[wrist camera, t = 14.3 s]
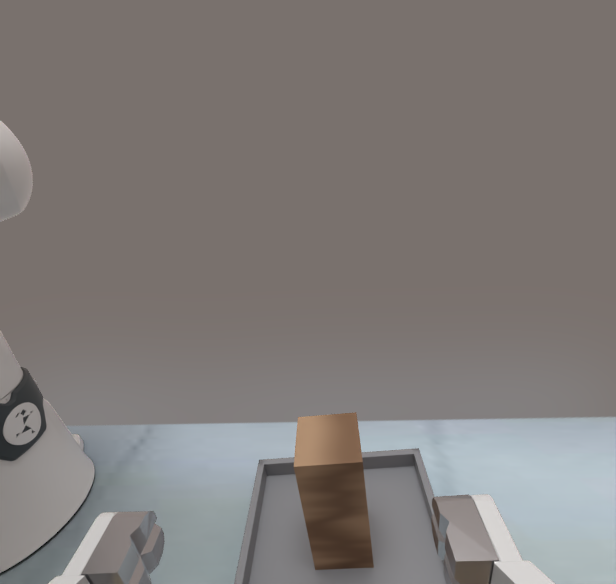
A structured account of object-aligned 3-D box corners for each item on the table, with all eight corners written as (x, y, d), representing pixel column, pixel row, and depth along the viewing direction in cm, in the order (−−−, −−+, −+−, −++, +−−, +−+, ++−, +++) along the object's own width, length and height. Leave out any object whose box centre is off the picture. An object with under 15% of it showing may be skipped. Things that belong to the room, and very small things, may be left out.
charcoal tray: (230, 660, 23) (222, 641, 22) (263, 476, 36) (259, 459, 35) (477, 655, 22) (478, 634, 21) (419, 466, 35) (418, 448, 34)
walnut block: (315, 570, 27) (293, 466, 22) (316, 513, 31) (298, 417, 27) (373, 567, 26) (362, 461, 22) (366, 510, 30) (356, 412, 26)
